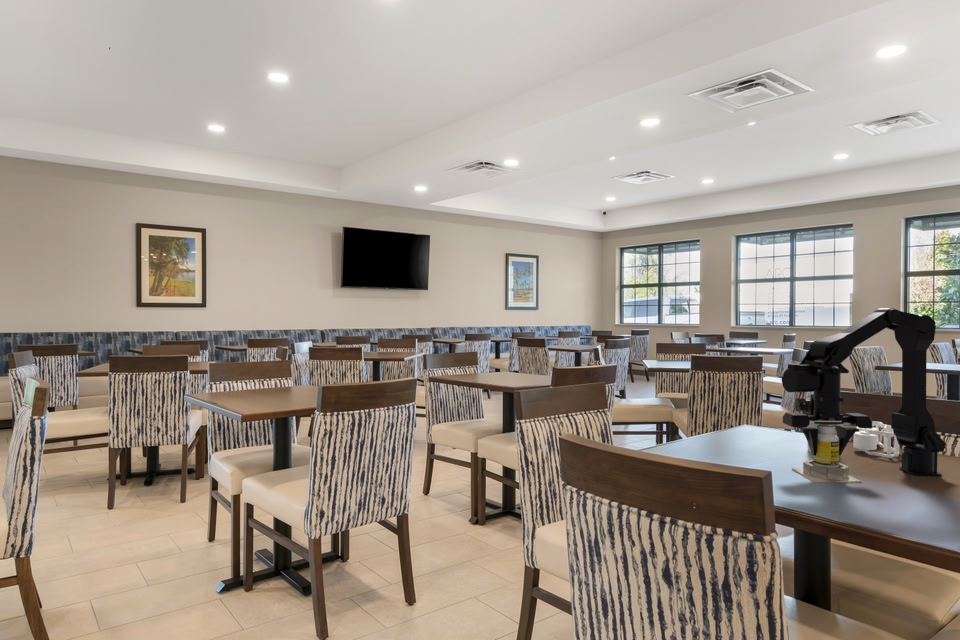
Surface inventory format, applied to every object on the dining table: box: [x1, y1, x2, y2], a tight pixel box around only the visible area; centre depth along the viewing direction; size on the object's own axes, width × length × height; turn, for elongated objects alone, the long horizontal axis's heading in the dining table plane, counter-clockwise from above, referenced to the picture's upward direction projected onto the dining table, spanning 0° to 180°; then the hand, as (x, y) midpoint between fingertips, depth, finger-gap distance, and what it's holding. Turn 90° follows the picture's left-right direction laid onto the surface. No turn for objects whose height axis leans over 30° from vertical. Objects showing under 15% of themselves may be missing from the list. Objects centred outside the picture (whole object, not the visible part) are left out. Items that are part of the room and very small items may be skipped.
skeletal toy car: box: [852, 420, 900, 459], centre depth 178 cm, size 20×11×7 cm, turn 145°
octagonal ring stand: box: [791, 459, 863, 484], centre depth 147 cm, size 11×11×3 cm
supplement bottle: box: [813, 425, 840, 468], centre depth 148 cm, size 5×5×10 cm
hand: (826, 455), depth 147 cm, fingers closed on supplement bottle, 5 cm apart
